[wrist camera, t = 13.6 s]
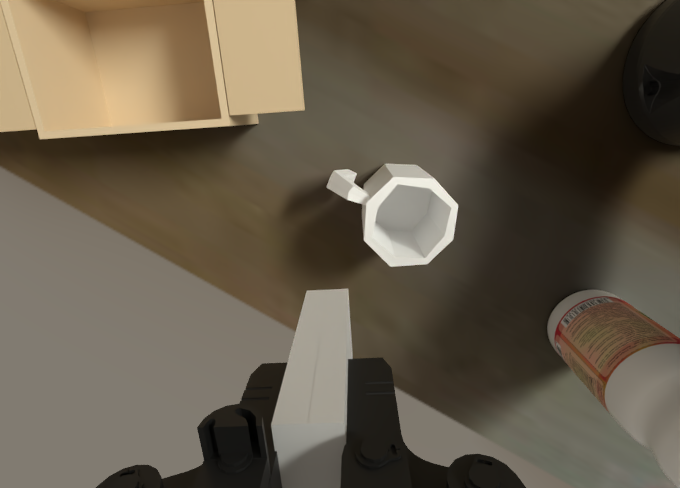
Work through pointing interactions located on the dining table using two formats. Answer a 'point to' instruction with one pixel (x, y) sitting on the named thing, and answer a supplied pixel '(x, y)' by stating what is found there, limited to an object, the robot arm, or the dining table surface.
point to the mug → (401, 212)
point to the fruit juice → (624, 368)
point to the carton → (145, 64)
